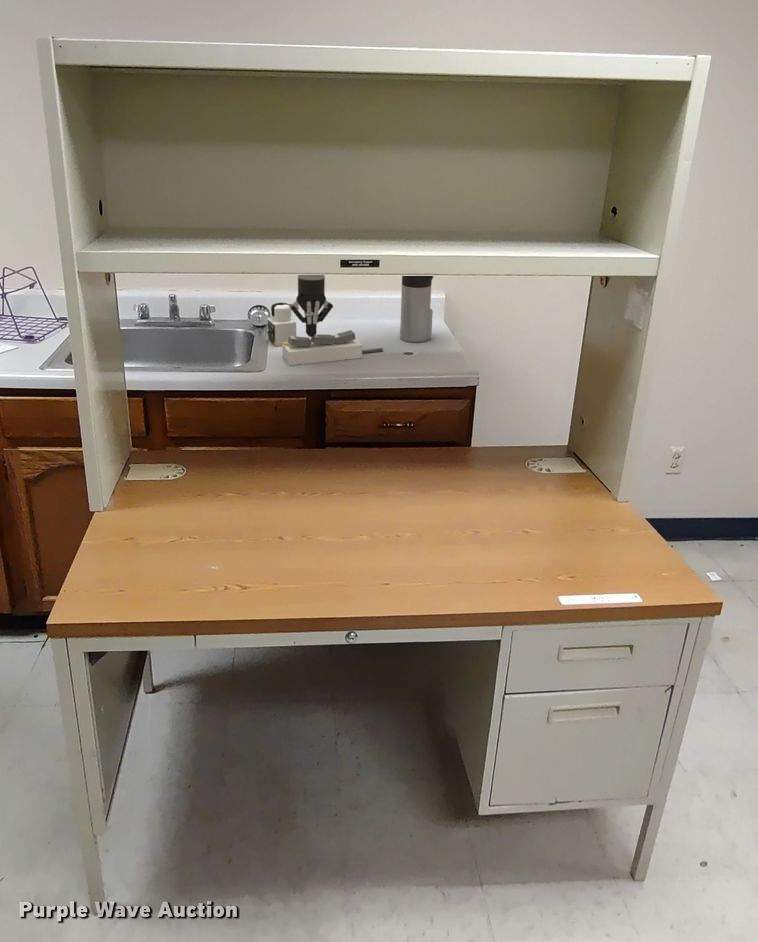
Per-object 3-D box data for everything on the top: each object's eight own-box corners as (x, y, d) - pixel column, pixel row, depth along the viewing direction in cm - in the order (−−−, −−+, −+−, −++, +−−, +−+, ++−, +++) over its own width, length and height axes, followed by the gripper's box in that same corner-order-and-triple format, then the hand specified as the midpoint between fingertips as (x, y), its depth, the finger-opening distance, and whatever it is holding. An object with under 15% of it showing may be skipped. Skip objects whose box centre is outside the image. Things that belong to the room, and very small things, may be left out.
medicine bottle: (268, 340, 238) (266, 302, 232) (289, 337, 240) (288, 300, 235) (275, 346, 232) (273, 308, 226) (297, 344, 235) (295, 305, 229)
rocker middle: (330, 340, 224) (330, 334, 223) (333, 343, 221) (334, 337, 220) (310, 340, 222) (311, 333, 221) (314, 343, 219) (314, 337, 218)
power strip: (377, 347, 233) (377, 332, 231) (386, 355, 226) (387, 340, 224) (282, 356, 223) (282, 341, 221) (289, 365, 217) (289, 350, 215)
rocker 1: (307, 343, 222) (308, 336, 221) (310, 346, 219) (311, 340, 218) (287, 341, 220) (288, 335, 219) (290, 345, 217) (291, 338, 216)
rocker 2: (351, 335, 226) (350, 329, 225) (355, 339, 223) (354, 332, 222) (333, 340, 224) (331, 334, 223) (336, 344, 222) (335, 338, 221)
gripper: (329, 272, 217) (328, 331, 225) (285, 273, 213) (285, 333, 220) (337, 278, 211) (336, 338, 219) (291, 279, 206) (292, 341, 214)
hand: (311, 335), depth 219 cm, fingers closed
